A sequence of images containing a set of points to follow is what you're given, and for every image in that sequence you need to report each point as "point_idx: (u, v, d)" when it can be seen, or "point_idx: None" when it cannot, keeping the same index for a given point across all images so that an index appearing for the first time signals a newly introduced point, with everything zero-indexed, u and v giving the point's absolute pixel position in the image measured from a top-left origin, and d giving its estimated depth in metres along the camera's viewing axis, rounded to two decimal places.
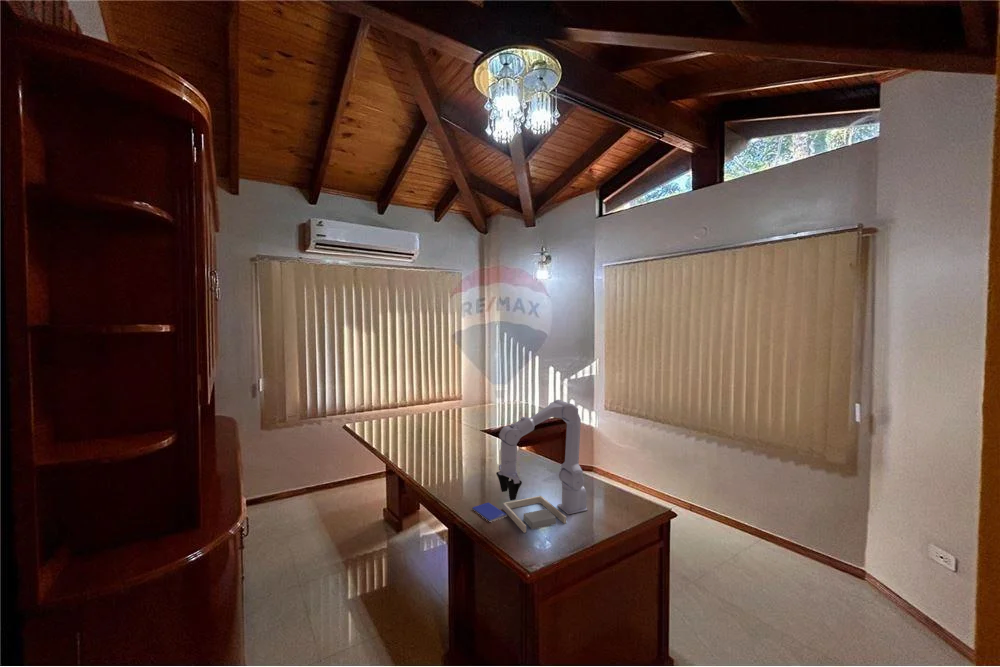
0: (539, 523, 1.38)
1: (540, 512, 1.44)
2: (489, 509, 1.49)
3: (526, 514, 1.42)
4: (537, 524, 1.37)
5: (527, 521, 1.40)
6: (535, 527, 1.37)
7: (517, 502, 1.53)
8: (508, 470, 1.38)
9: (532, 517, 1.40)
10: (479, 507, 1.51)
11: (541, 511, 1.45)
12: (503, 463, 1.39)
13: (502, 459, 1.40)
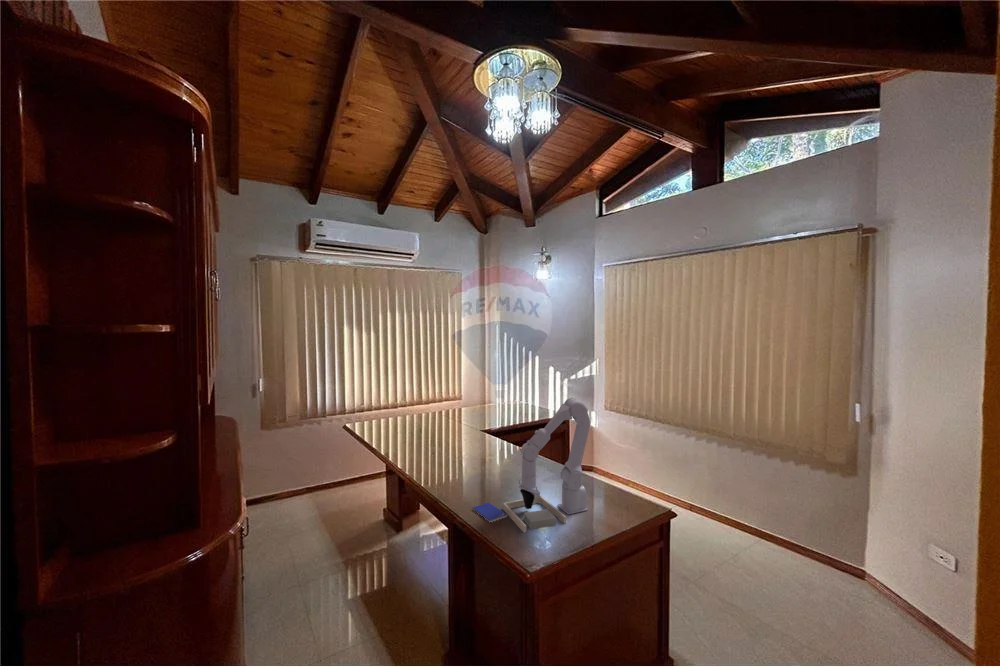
0: (538, 523, 1.38)
1: (540, 512, 1.44)
2: (489, 509, 1.49)
3: (526, 513, 1.43)
4: (536, 524, 1.38)
5: (526, 520, 1.40)
6: (534, 527, 1.37)
7: (517, 502, 1.53)
8: (529, 484, 1.47)
9: (531, 517, 1.40)
10: (479, 507, 1.51)
11: (542, 511, 1.45)
12: (524, 478, 1.48)
13: (522, 473, 1.49)
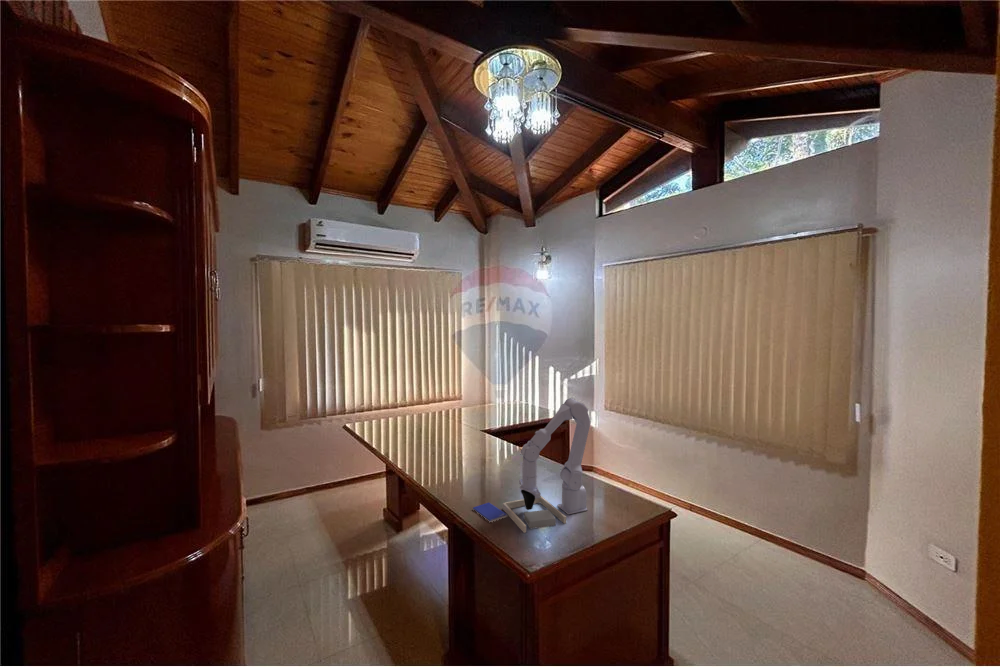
0: (538, 523, 1.38)
1: (541, 512, 1.44)
2: (489, 509, 1.49)
3: (526, 513, 1.43)
4: (536, 524, 1.38)
5: (526, 520, 1.41)
6: (533, 527, 1.37)
7: (517, 502, 1.53)
8: (529, 485, 1.46)
9: (531, 516, 1.40)
10: (480, 507, 1.51)
11: (542, 511, 1.45)
12: (524, 478, 1.47)
13: (522, 474, 1.48)
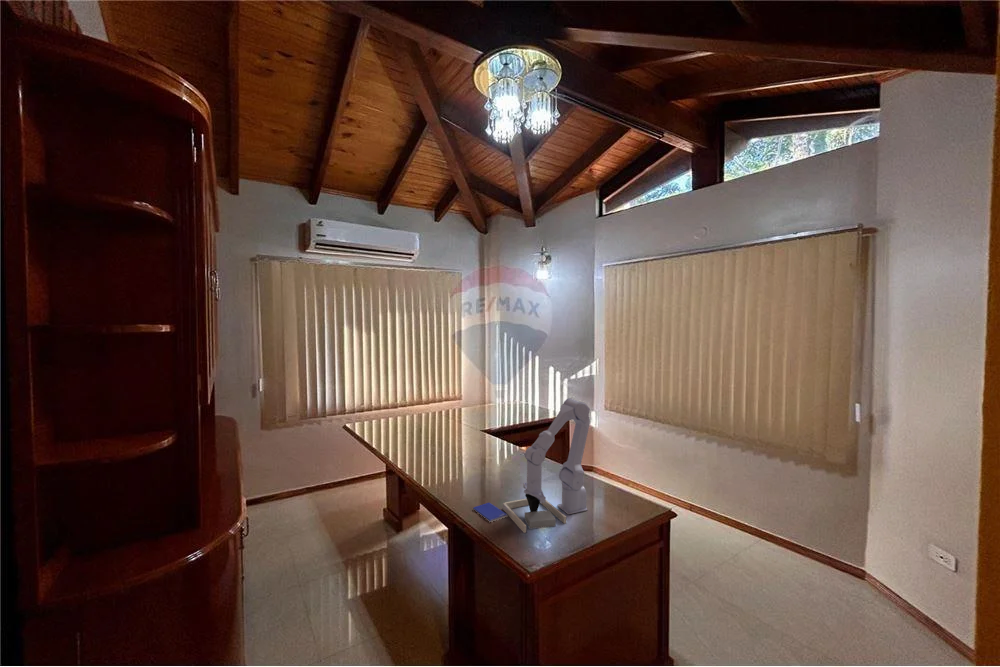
0: (537, 523, 1.38)
1: (541, 513, 1.43)
2: (489, 509, 1.49)
3: (527, 513, 1.43)
4: (536, 524, 1.38)
5: (526, 520, 1.41)
6: (533, 527, 1.37)
7: (517, 502, 1.53)
8: (534, 489, 1.43)
9: (531, 517, 1.40)
10: (480, 507, 1.51)
11: (543, 512, 1.44)
12: (529, 482, 1.44)
13: (528, 478, 1.44)
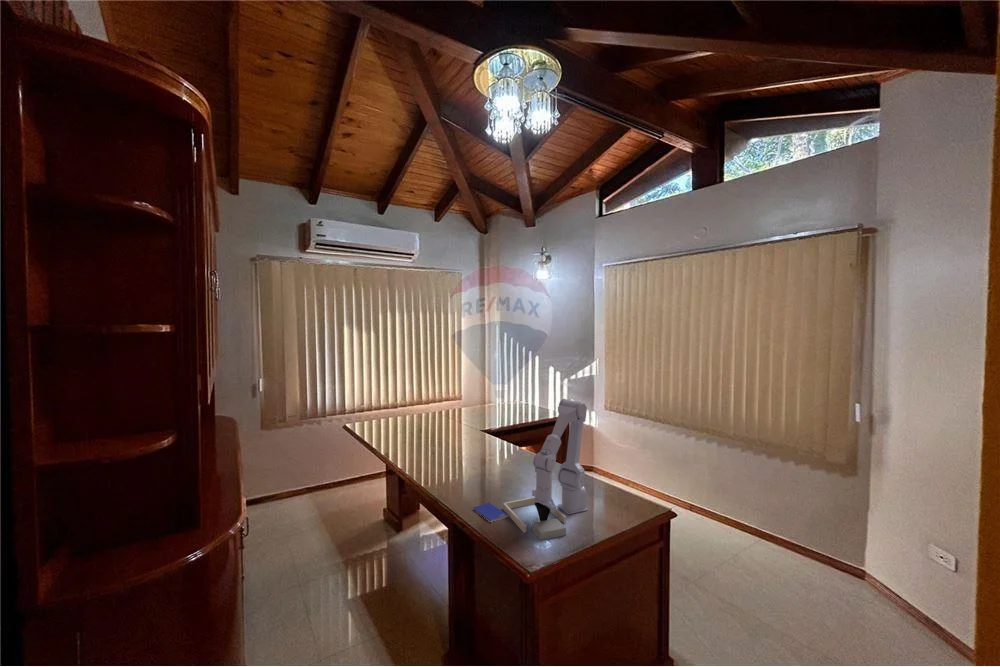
0: (548, 534, 1.31)
1: (549, 522, 1.37)
2: (490, 509, 1.49)
3: (535, 524, 1.35)
4: (546, 535, 1.30)
5: (535, 531, 1.33)
6: (544, 538, 1.30)
7: (517, 502, 1.53)
8: (544, 497, 1.36)
9: (541, 527, 1.33)
10: (480, 507, 1.51)
11: (551, 521, 1.38)
12: (538, 490, 1.37)
13: (540, 487, 1.36)
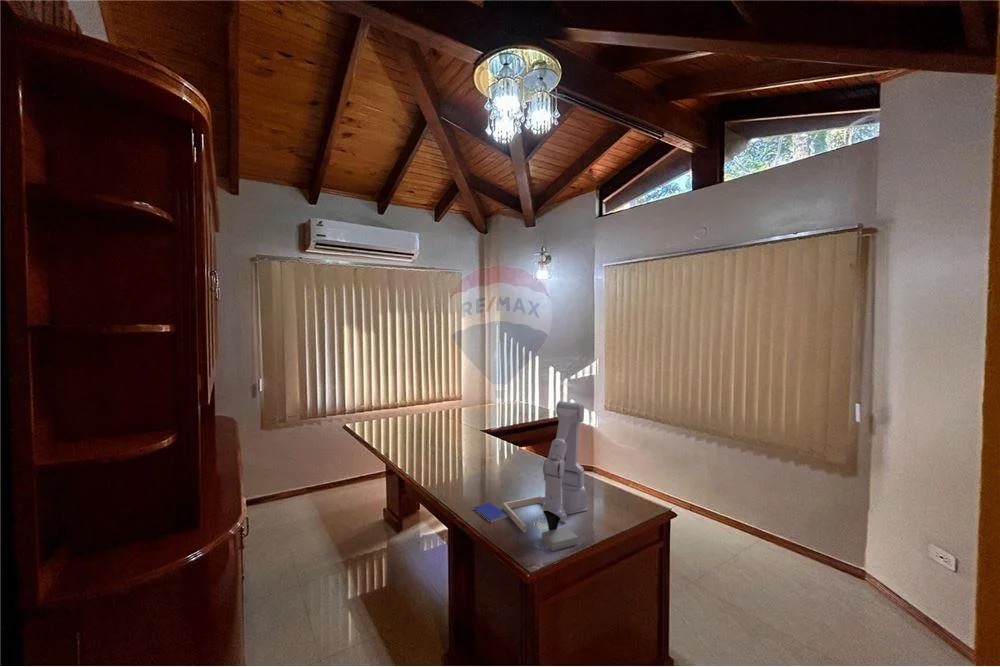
0: (560, 544, 1.25)
1: (560, 531, 1.31)
2: (490, 509, 1.49)
3: (545, 533, 1.29)
4: (558, 545, 1.24)
5: (546, 541, 1.27)
6: (556, 548, 1.24)
7: (517, 502, 1.53)
8: (554, 505, 1.30)
9: (552, 537, 1.27)
10: (480, 507, 1.51)
11: (561, 529, 1.32)
12: (548, 498, 1.31)
13: (551, 495, 1.30)
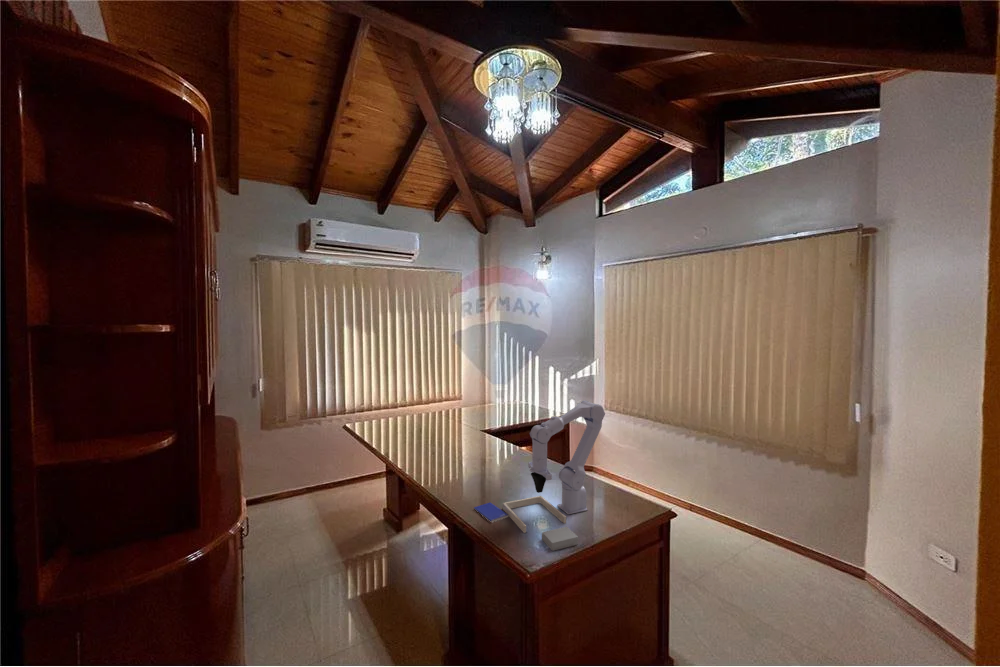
0: (560, 544, 1.25)
1: (560, 531, 1.31)
2: (490, 509, 1.49)
3: (545, 533, 1.29)
4: (558, 545, 1.24)
5: (546, 541, 1.27)
6: (556, 548, 1.24)
7: (517, 502, 1.53)
8: (540, 467, 1.43)
9: (552, 536, 1.27)
10: (481, 507, 1.51)
11: (561, 529, 1.32)
12: (535, 461, 1.44)
13: (533, 457, 1.45)
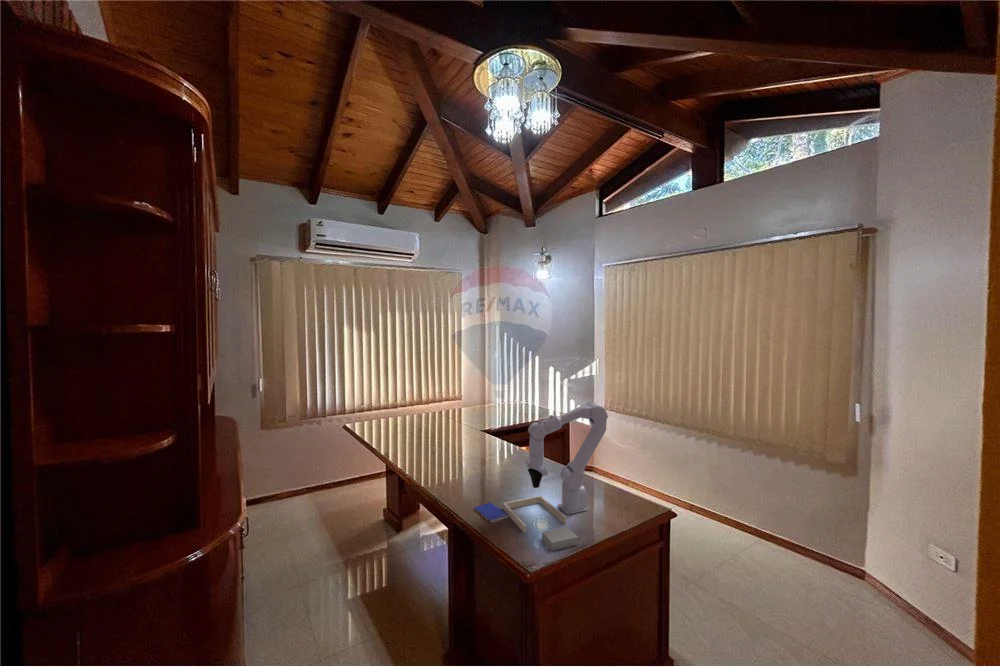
0: (560, 544, 1.25)
1: (560, 531, 1.31)
2: (490, 509, 1.49)
3: (545, 533, 1.29)
4: (558, 545, 1.25)
5: (546, 541, 1.27)
6: (555, 548, 1.24)
7: (517, 502, 1.53)
8: (536, 463, 1.48)
9: (552, 536, 1.27)
10: (481, 507, 1.51)
11: (561, 529, 1.32)
12: (531, 457, 1.48)
13: (529, 452, 1.50)
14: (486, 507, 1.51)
